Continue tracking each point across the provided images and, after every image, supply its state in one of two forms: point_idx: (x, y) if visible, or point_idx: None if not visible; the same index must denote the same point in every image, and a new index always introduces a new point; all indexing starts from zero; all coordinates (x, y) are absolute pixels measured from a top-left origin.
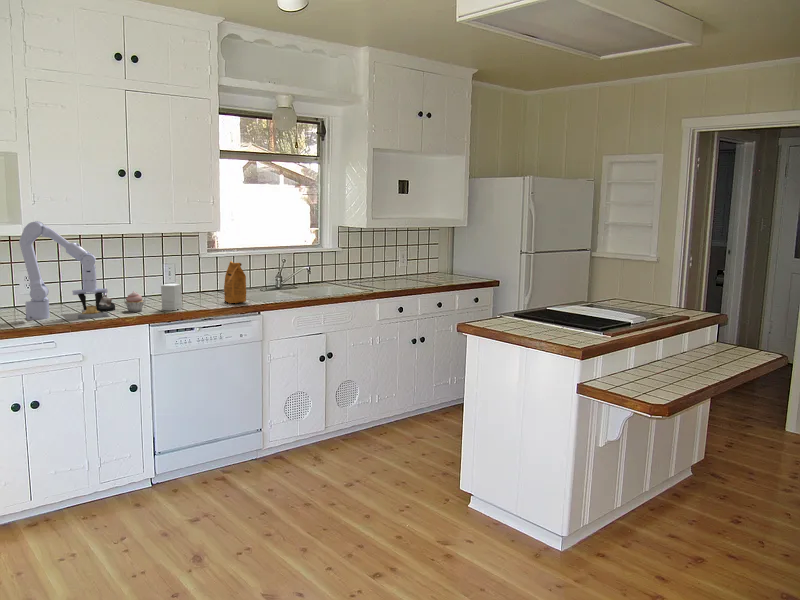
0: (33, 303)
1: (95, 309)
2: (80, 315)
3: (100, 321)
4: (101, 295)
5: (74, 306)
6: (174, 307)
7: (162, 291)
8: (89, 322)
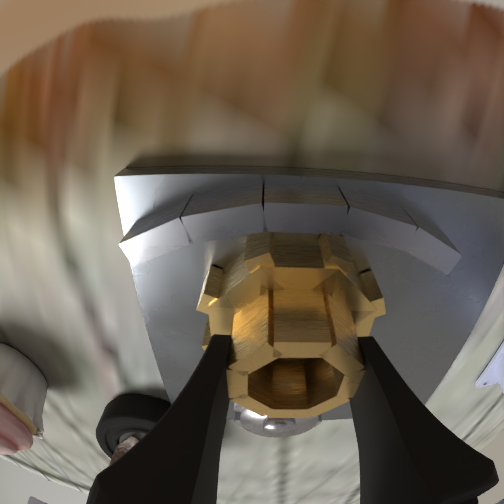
0: None
1: (251, 324)
2: (440, 237)
3: (257, 37)
4: (106, 490)
5: (261, 499)
6: None
7: None
8: (385, 45)
